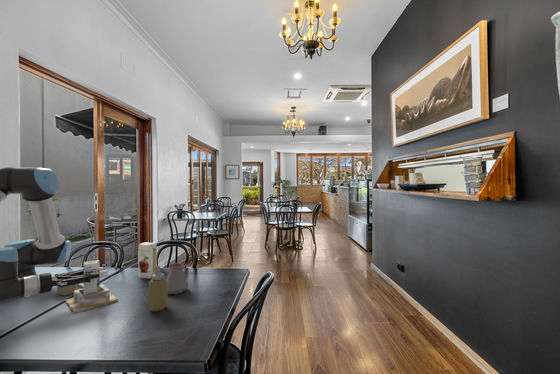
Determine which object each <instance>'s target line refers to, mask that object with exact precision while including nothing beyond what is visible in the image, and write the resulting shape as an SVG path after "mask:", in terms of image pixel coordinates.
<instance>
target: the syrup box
mask: <svg viewBox="0 0 560 374" xmlns="http://www.w3.org/2000/svg"><path fill="white" fill-rule="evenodd" d="M100 267H101V265H100V260H99V259H97V260H90V261H84V262H83V268H84V275H88V274H90V273H95V272H100ZM86 279H87V278H86ZM100 279H101V278H98V279H93V280H91V282H86V283H83V286H84V295H87V294H91V293H96V292H100V285H101V284H100V283H101V282H100V281H101V280H100Z"/></svg>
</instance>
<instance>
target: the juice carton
mask: <svg viewBox="0 0 560 374" xmlns="http://www.w3.org/2000/svg"><path fill="white" fill-rule="evenodd" d="M157 244H158V243H157V242H148V241H145V242H142V243H141V242H140V243H138V249H137V250H138V253H137V255H138V259H137V260H138V263H137V264H138V267H137V268H138V270H137V271H138V278H139V279H150V280H151V279H152V275H153V274H155V270H156V266H158V246H157Z"/></svg>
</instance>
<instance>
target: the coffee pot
mask: <svg viewBox="0 0 560 374" xmlns="http://www.w3.org/2000/svg"><path fill="white" fill-rule="evenodd" d="M199 257H200V256H198V254H195V255H194V256H193V257H192V258H189V260H188V261H187V262H186V263H185V264H184V265H183V264H182V263H172V264H170V265H169V266H168V267H169V270H170V271H169V273H168V275H167V278H165V279H166V283H167V293H168V295H171V294H174V295H179V293H180V294H182V293H184V292H185V291H186V290H187V288H188V287H189V282H188V280H187V278H186V276H185V273H184V272H183V269H184V268H186V266H188V265H189V264H190V263H191V262H193V260H194V259H196V258H199ZM183 291H184V292H183ZM181 292H182V293H181Z"/></svg>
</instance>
